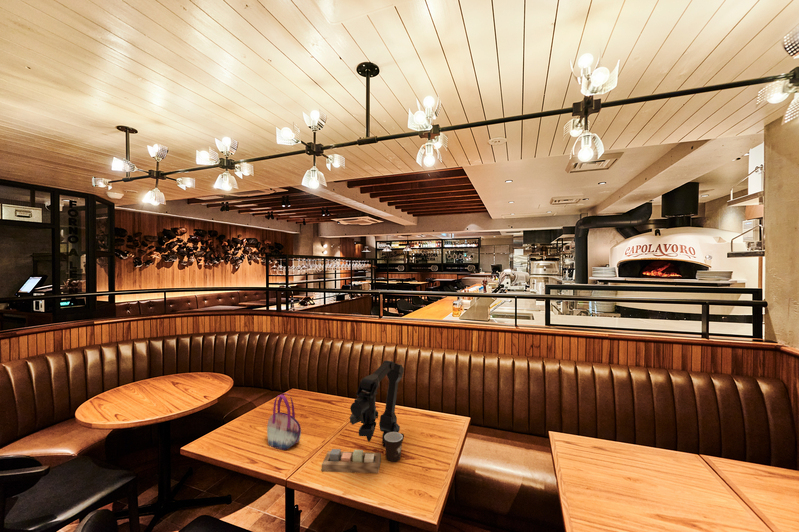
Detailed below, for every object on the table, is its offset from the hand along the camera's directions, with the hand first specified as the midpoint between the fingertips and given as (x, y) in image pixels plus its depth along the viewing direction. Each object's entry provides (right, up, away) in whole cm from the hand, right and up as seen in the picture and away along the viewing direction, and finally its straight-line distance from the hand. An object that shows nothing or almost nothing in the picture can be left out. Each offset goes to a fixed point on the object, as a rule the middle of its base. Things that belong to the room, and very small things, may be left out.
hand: (369, 441), depth 141 cm
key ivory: (0, -11, 0) cm, 11 cm away
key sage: (-5, -9, 0) cm, 10 cm away
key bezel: (-8, -11, 0) cm, 13 cm away
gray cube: (-15, -9, +1) cm, 18 cm away
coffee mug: (+12, -11, +6) cm, 18 cm away
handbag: (-45, -11, +18) cm, 50 cm away
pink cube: (-10, -11, 0) cm, 15 cm away
